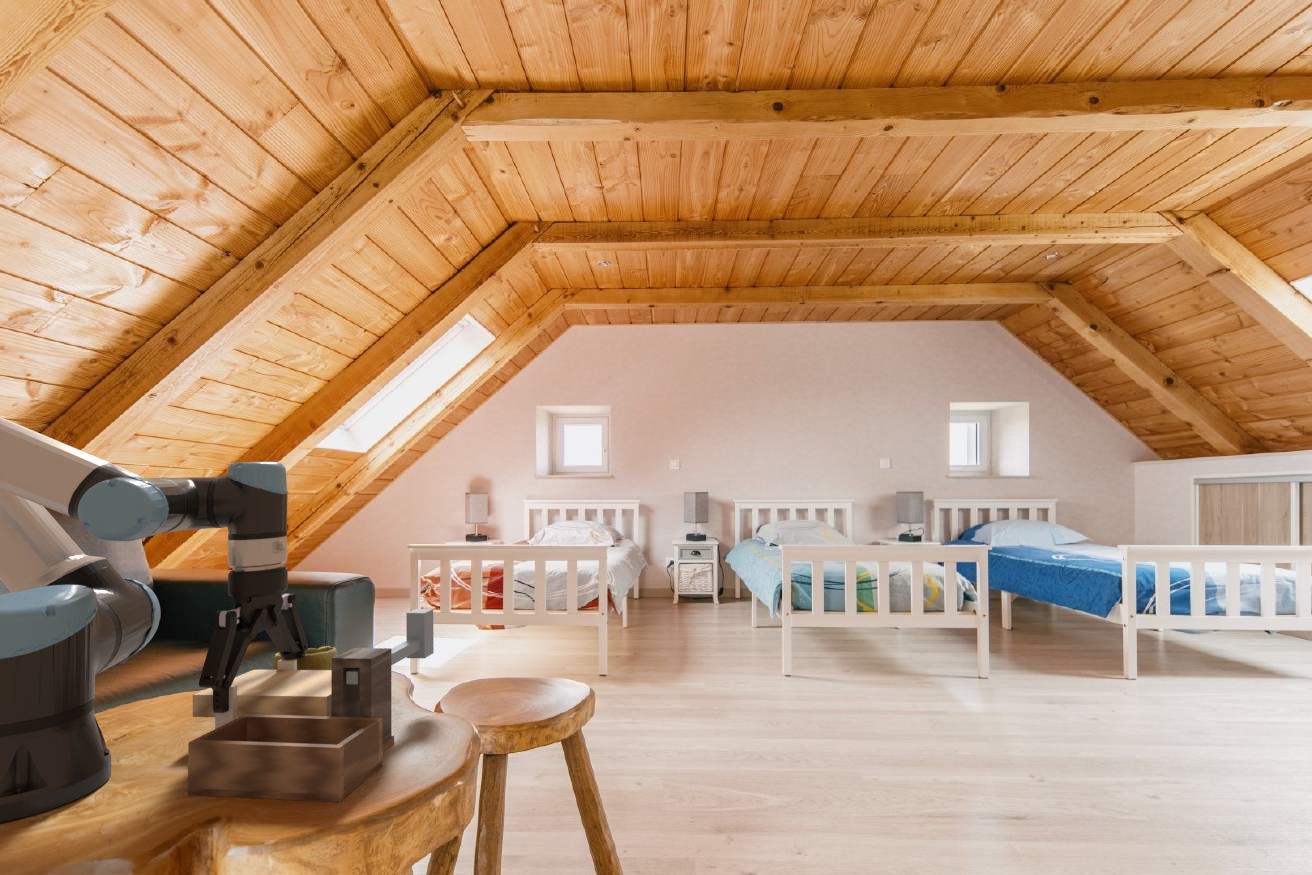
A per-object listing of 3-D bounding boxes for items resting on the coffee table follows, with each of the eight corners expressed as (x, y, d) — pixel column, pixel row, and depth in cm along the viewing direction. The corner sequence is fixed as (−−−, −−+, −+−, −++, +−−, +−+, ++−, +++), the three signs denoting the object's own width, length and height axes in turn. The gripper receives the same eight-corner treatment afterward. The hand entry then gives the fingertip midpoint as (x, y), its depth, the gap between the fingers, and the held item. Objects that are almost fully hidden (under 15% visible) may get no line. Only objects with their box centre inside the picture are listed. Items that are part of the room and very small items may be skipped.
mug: (313, 702, 102) (306, 637, 105) (258, 720, 104) (253, 655, 107) (366, 692, 114) (358, 634, 117) (316, 708, 115) (309, 650, 118)
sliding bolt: (341, 694, 87) (341, 640, 87) (415, 652, 107) (415, 608, 107) (362, 695, 87) (362, 641, 87) (433, 653, 106) (433, 609, 107)
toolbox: (187, 794, 77) (189, 683, 78) (282, 739, 93) (283, 646, 93) (339, 802, 75) (339, 686, 75) (410, 743, 90) (409, 648, 91)
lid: (192, 727, 91) (192, 694, 91) (253, 699, 103) (253, 669, 103) (326, 730, 89) (326, 696, 89) (374, 700, 100) (374, 670, 100)
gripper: (217, 580, 85) (217, 753, 84) (332, 555, 109) (333, 690, 107) (165, 580, 86) (164, 752, 85) (290, 556, 110) (290, 690, 108)
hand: (258, 717), depth 96 cm, fingers closed on lid, 11 cm apart
